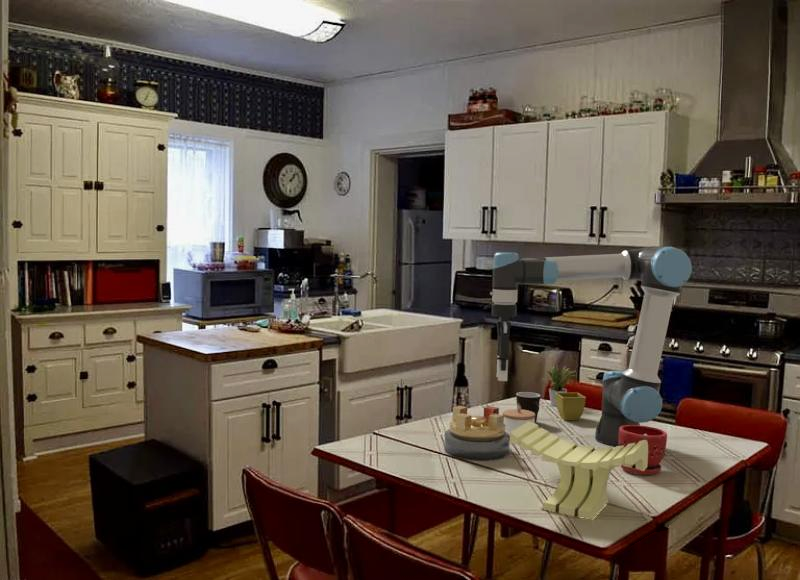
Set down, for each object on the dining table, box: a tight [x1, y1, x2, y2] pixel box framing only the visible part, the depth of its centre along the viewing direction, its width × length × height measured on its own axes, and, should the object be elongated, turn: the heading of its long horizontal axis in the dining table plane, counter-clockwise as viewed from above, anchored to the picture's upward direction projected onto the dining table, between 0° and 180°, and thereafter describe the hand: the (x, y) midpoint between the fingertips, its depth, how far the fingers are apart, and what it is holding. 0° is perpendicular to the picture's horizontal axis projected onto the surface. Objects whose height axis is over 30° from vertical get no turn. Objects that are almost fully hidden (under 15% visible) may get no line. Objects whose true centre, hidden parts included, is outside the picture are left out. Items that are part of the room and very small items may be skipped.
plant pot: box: [618, 424, 668, 476], centre depth 210 cm, size 13×13×12 cm
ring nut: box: [449, 405, 506, 442], centre depth 225 cm, size 17×17×7 cm
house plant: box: [543, 364, 577, 407], centre depth 288 cm, size 14×14×16 cm
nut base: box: [443, 428, 510, 462], centre depth 226 cm, size 20×20×5 cm
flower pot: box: [556, 392, 587, 421], centre depth 268 cm, size 9×9×9 cm
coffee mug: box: [515, 391, 541, 424], centre depth 260 cm, size 12×9×10 cm
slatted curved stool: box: [510, 422, 648, 519], centre depth 182 cm, size 30×16×18 cm, turn 59°
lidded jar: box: [502, 408, 535, 436], centre depth 244 cm, size 11×11×9 cm
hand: (501, 378), depth 224 cm, fingers open, 5 cm apart
